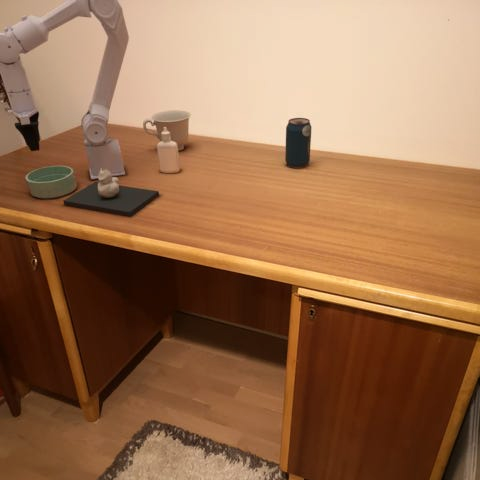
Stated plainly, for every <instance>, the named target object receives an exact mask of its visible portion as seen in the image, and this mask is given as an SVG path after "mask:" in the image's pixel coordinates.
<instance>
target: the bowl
mask: <svg viewBox="0 0 480 480" xmlns="http://www.w3.org/2000/svg"><path fill="white" fill-rule="evenodd" d="M25 182H26V185H27V188H28V191H29V194H30V195H31V196H32V197H35V198H38V199H44V200H45V199H46V200H47V199H55V198H56V199H57V198H61V197H64V196H67V195H69V194H71V193H73V192H74V191H75V190H76V189H77V187H78V183H77V180H76V175H75V173H74V169H73V168H72V167H70V166H67V165H49V166H44V167H39V168H36V169H34V170H32V171H30V172H28V173H27V174H26V175H25Z"/></svg>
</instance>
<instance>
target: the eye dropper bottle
mask: <svg viewBox="0 0 480 480" xmlns="http://www.w3.org/2000/svg"><path fill="white" fill-rule="evenodd" d="M161 137H162V141H161V142H160V141H159V142H158V143H157V144H156V151H157V157H158V164H159V171H160V172H161V173H165V174H176V173H179V172H180V170H181V162H180V154H179V151H178V146H177V143H176V142H174V141H171V137H170V132H168V131H167V129H166V127H163V132H162V133H161Z"/></svg>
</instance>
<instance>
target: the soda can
mask: <svg viewBox="0 0 480 480" xmlns="http://www.w3.org/2000/svg"><path fill="white" fill-rule="evenodd" d="M312 129H313V127H312V125H311V120H310V119H309V118H306V117H293V118H289V119H288V123H287V124H286V126H285V151H284V152H285V154H284V155H285V156H284V160H285V163H286V165H287V166H288V167H289V168H293V169H302V168H306V167H307V166H308V164H309V163H310V160H311V145H312Z"/></svg>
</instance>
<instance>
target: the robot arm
mask: <svg viewBox="0 0 480 480" xmlns="http://www.w3.org/2000/svg"><path fill="white" fill-rule="evenodd" d="M91 13H92V14H91ZM92 15H94V17H95V18H96V19H97V20H98V21H99V22H100V24H101V27H102V29H103V31H104V32H105V34H106V37H107V40H106V44H105V48H104V52H103V55H102V59H101V63H100V67H99V71H98V75H97V78H96V82H95V85H94V90H93V93H92V94H93V95H92V97H91V101H90V103H89V105H88V109H87V112H85V114H84V115H82V117H81V121H80V122H81V123H80V125H81V129H82V130H83V131H82V132H83V133H82V134H83V136H84V138H85V139H84V140H83V143H84V149H85V153H86V156H87V160H88V166H89V169H88V171H89V177H90V179H91V180H99V179H98V176H99V172H100V170H101V168H102V167H103V168H104V170H105V169H107V170H108V171H109V172H110V173H111V174H112V178H113V177H119V176H125V175H126V171H125V162H124V159H123V156H122V155H123V154H122V151H121V146H120V142H119V139H118V138H115V139H111V136H110V135H109V130H108V123H109V118H110V109H111V106H112V102H113V98H114V95H115V91H116V87H117V84H118V80H119V77H120V73H121V69H122V65H123V62H124V58H125V55H126V52H127V47H128V44H129V39H130V37H129V32H128V27H127V23H126V21H125V16H124V11H123V7H122V5H121V3H120V2H119V1H118V0H66V1H64V2H63V3H62V4H60V5H58V6H57V7H55V8H53V9H52V10H51V11H49V12H48V13H46V14H44V15H43V16H41V17H40V16H39V17H38V16H36V15H33V14H31V15H29V16H27V14H24V15H22V16H21V17H20V19H21V20H20V21H19V22H17V23H15V24H13V25H11V26H10V27H8V26H5V27H4V28H3V31H4V32H0V76H1V77H0V78H1V80H2V83H3V86H4V89H5V92H6V95H7V98H8V102H9V104H10V108H11V109H8V110H7V115H10V116H11V115H13V116H15V117H16V118H17V120H18V121H19V122H14V127H15V129H16V130H17V131H18V132H19V133H20V135H21V136H22V138H23V139H24V141H25V143H26V145H27V147H28V148H29V150H30V152H37V151H40V142H41V141H40V139H41V138H40V130H39V123H40V121H39V116H40V112H39V109H38V107H37V106H36V102H35V99H34V96H33V92H32V89H31V85H30V82H29V79H28V75H27V71H26V68H25V67H24V65H23V61H22V58H21V56H20V55H21V54H25V55H26V54H28V53H29V52H31V51H33V50H35V49H36V48H38V47H40V46H41V45H43V44H44V43H46V42H48V41H49V33H50V32H52V31H54V30H55V29H57V28H59V27H61V26H63V25H65V24H66V23H68V22H71V21H72V20H74V19H76V18H79V17H80V18H90V19H91V18H92Z"/></svg>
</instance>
